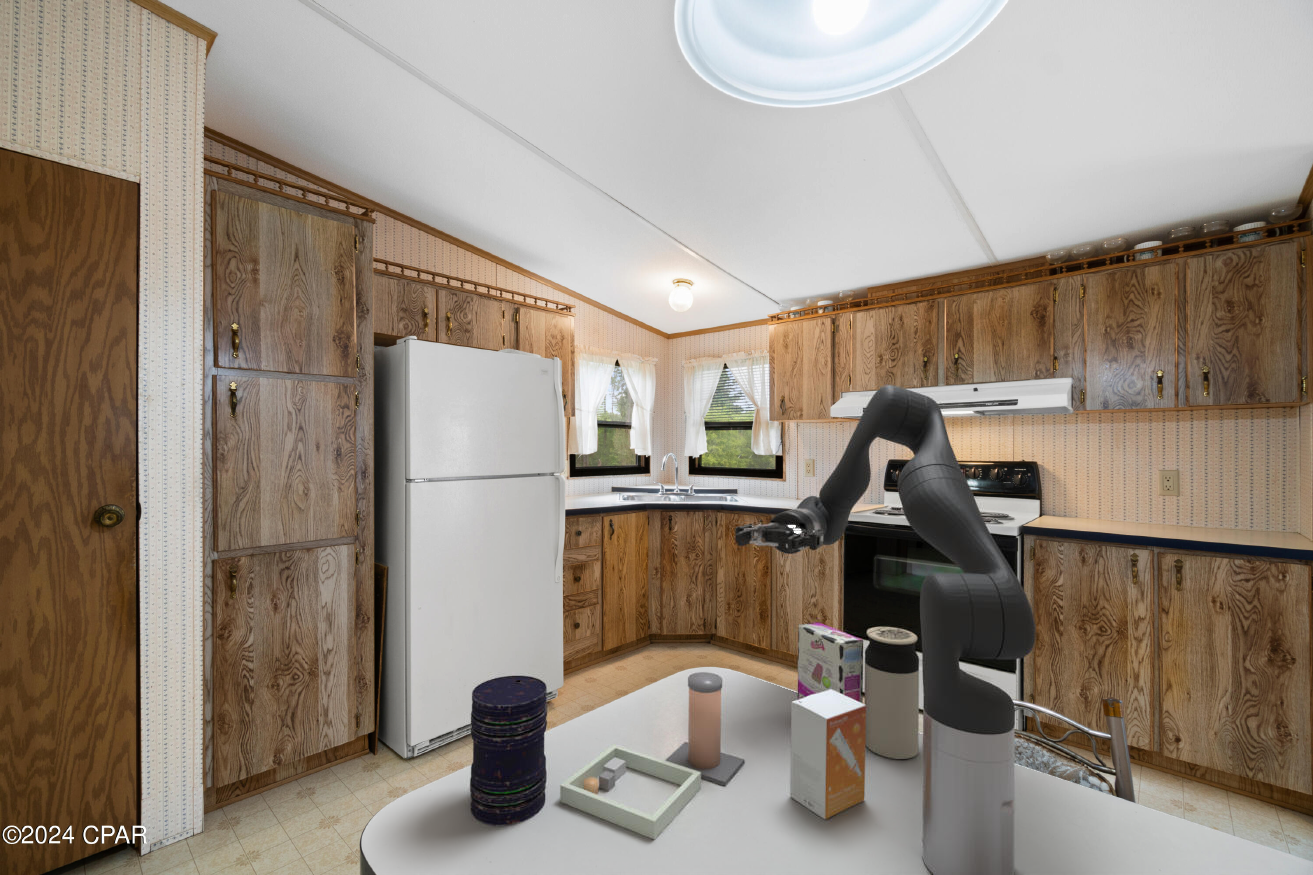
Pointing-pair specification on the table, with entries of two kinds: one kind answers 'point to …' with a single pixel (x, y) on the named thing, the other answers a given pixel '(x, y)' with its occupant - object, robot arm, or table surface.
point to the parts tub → (609, 768)
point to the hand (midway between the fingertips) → (764, 542)
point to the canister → (704, 720)
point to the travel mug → (892, 693)
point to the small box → (827, 752)
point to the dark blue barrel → (508, 750)
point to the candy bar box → (829, 661)
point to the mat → (717, 775)
